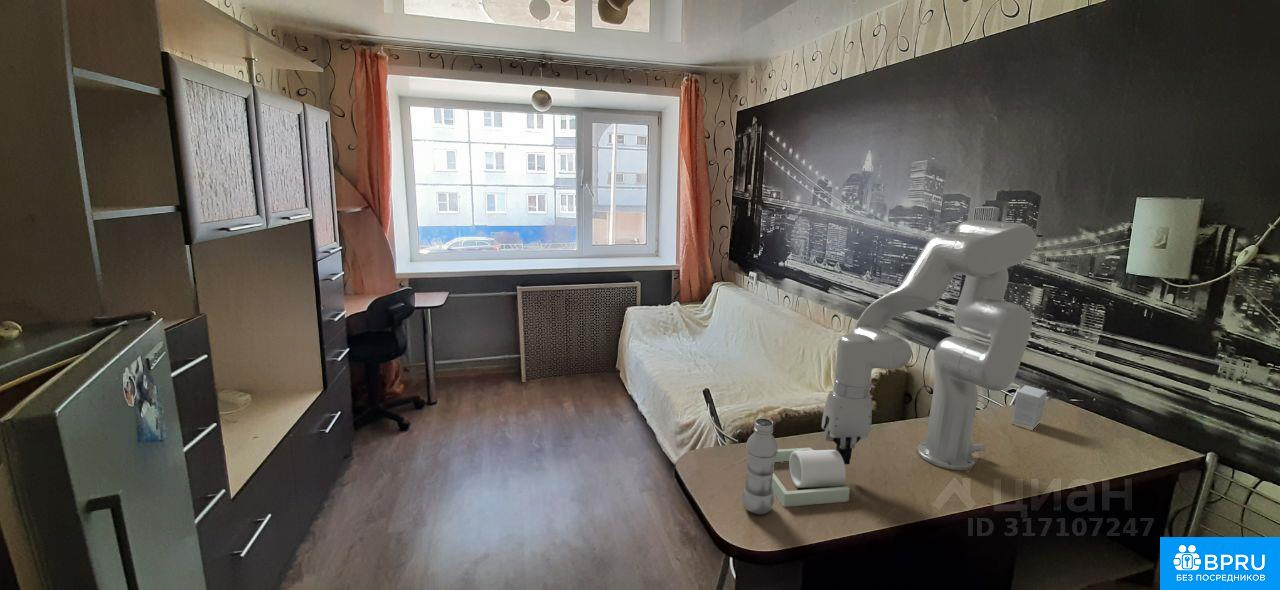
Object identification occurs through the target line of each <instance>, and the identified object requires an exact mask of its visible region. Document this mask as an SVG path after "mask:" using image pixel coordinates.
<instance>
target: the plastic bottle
mask: <svg viewBox="0 0 1280 590" xmlns="http://www.w3.org/2000/svg"><path fill="white" fill-rule="evenodd" d="M753 431H754V432H753V433H752V434H751V435H750V436H749V437H748V439H747V441H746V445H745V446H746V447H745V448H746V460H747V461H746V462H747V463H746V467H747V471H746V478H745V479H746V480H745V485H744V488H743V492H742V504H743V506H744V507H745V510H747V511H748V512H749V513H752V514H754V515H765V514H768V513H769V512H770V511H772V509H773V506H774V502H775V494H774V492H773V473H774V471H775V464H776V463H775V460H776V456H777V452H778V450H779V445H778V442H777V441H776V438H775V437H774V435H773V432H774V422H773V421H772V420H770V419H769V418H765V417H763V418H757V419H755V421H754V426H753Z"/></svg>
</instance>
